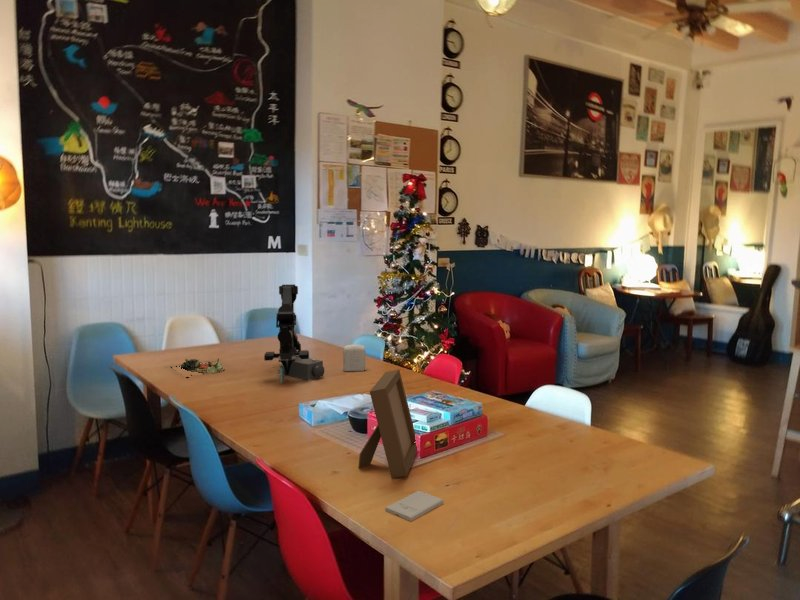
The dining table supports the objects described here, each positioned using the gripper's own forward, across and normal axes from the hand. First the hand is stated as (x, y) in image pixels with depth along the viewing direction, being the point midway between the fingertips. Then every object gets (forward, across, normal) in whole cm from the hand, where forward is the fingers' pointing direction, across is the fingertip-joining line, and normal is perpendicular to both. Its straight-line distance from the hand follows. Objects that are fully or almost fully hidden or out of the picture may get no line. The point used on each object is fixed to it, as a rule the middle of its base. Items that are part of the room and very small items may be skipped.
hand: (287, 374), depth 271 cm
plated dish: (+3, -41, +27) cm, 49 cm away
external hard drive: (+6, +37, -124) cm, 130 cm away
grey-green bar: (+3, -3, +4) cm, 6 cm away
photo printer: (+3, +30, +16) cm, 34 cm away
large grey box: (+3, +7, +9) cm, 12 cm away
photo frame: (+5, +34, -95) cm, 101 cm away
